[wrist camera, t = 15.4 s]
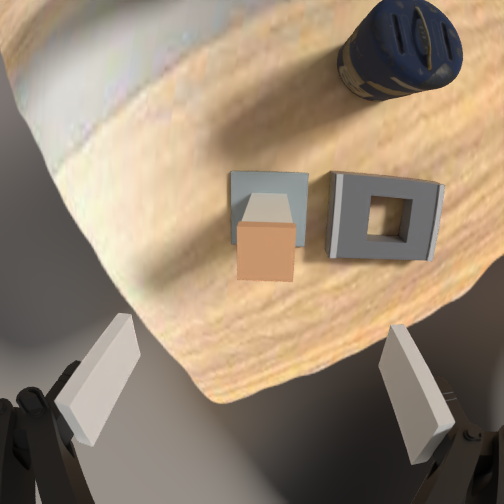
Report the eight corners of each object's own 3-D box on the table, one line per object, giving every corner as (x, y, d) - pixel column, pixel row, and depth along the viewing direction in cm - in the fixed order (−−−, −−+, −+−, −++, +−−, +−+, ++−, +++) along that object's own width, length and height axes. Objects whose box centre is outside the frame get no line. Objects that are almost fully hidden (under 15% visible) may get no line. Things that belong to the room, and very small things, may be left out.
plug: (250, 226, 42) (237, 279, 27) (250, 191, 40) (236, 226, 25) (286, 228, 42) (292, 281, 27) (287, 192, 40) (296, 228, 25)
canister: (403, 49, 32) (473, 12, 15) (397, 110, 35) (472, 102, 18) (337, 31, 32) (377, -29, 15) (330, 93, 35) (372, 65, 19)
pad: (232, 242, 44) (231, 244, 43) (231, 170, 40) (230, 171, 39) (303, 245, 43) (304, 246, 42) (308, 173, 39) (308, 173, 39)
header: (324, 249, 43) (328, 258, 40) (330, 170, 39) (335, 173, 36) (424, 252, 42) (433, 261, 39) (435, 181, 38) (446, 185, 35)
